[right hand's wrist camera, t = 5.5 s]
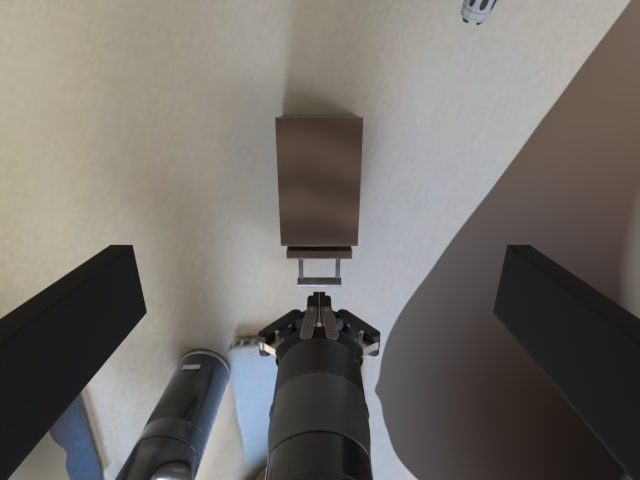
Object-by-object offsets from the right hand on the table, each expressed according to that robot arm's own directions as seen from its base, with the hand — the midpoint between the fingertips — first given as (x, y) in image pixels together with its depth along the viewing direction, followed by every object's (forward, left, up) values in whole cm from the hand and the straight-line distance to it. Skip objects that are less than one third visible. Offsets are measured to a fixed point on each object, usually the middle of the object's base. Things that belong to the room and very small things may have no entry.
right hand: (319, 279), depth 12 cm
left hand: (+14, +10, -27) cm, 32 cm away
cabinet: (+3, +2, -39) cm, 39 cm away
